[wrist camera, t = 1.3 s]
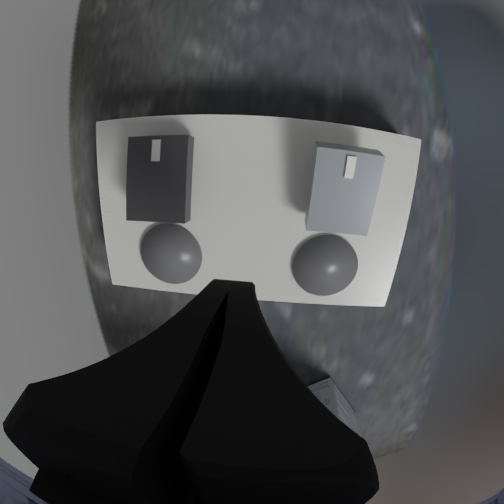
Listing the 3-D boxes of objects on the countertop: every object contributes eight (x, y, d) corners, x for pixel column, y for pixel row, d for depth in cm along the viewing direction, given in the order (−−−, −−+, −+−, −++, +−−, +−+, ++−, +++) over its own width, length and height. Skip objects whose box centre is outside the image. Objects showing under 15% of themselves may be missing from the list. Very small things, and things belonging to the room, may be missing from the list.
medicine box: (286, 391, 25) (286, 474, 17) (332, 374, 24) (344, 460, 16) (319, 427, 27) (324, 496, 20) (358, 413, 26) (371, 484, 18)
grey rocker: (362, 225, 14) (367, 236, 14) (304, 219, 15) (306, 231, 14) (378, 149, 12) (385, 157, 11) (314, 140, 12) (317, 147, 11)
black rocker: (190, 220, 14) (184, 224, 13) (134, 217, 14) (125, 220, 13) (194, 137, 13) (188, 134, 12) (137, 138, 13) (127, 136, 12)
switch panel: (371, 281, 20) (385, 308, 17) (130, 263, 20) (111, 285, 17) (399, 135, 15) (422, 139, 12) (121, 119, 16) (94, 121, 13)
